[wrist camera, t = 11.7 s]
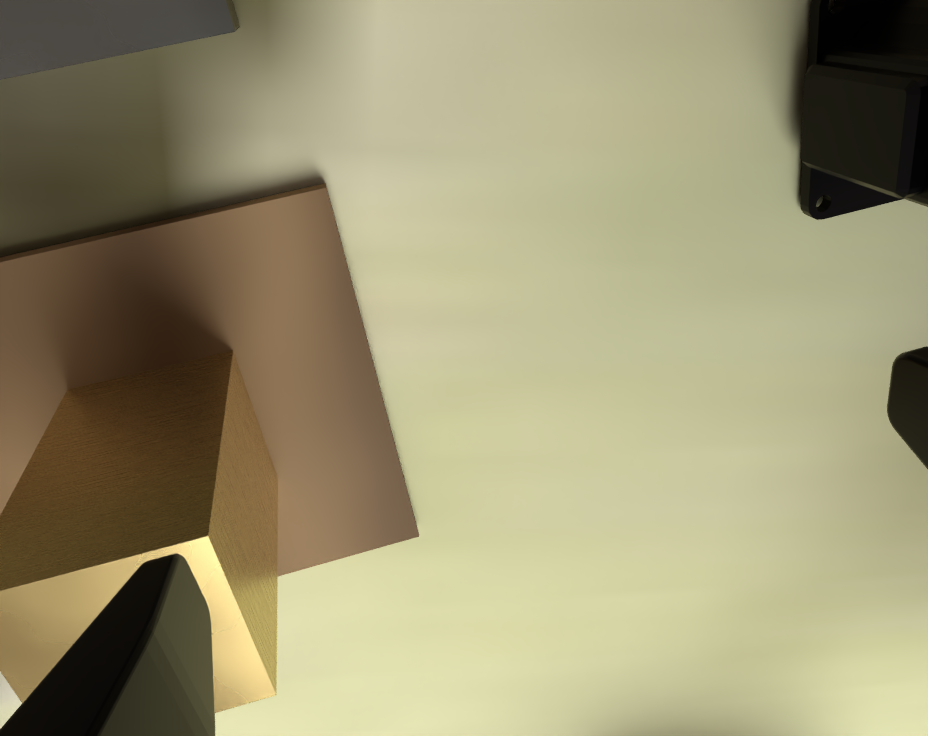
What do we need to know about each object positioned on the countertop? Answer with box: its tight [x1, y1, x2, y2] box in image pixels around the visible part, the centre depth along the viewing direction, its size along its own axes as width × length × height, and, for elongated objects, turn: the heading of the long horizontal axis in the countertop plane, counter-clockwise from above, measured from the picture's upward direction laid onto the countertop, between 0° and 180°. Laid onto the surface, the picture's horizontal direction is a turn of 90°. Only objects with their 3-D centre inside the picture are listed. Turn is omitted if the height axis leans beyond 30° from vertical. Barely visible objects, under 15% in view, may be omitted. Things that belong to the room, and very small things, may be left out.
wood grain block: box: [0, 351, 278, 713], centre depth 18 cm, size 4×4×8 cm
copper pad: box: [0, 183, 419, 576], centre depth 22 cm, size 12×12×1 cm
